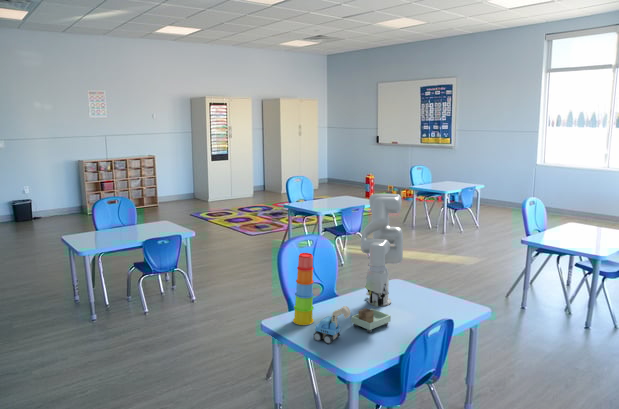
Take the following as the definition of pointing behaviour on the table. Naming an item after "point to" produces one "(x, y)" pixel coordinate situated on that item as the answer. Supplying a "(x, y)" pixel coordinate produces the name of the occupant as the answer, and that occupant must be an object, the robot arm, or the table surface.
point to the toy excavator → (330, 326)
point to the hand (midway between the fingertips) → (376, 303)
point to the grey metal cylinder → (375, 299)
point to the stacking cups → (304, 290)
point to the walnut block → (366, 315)
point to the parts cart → (378, 320)
